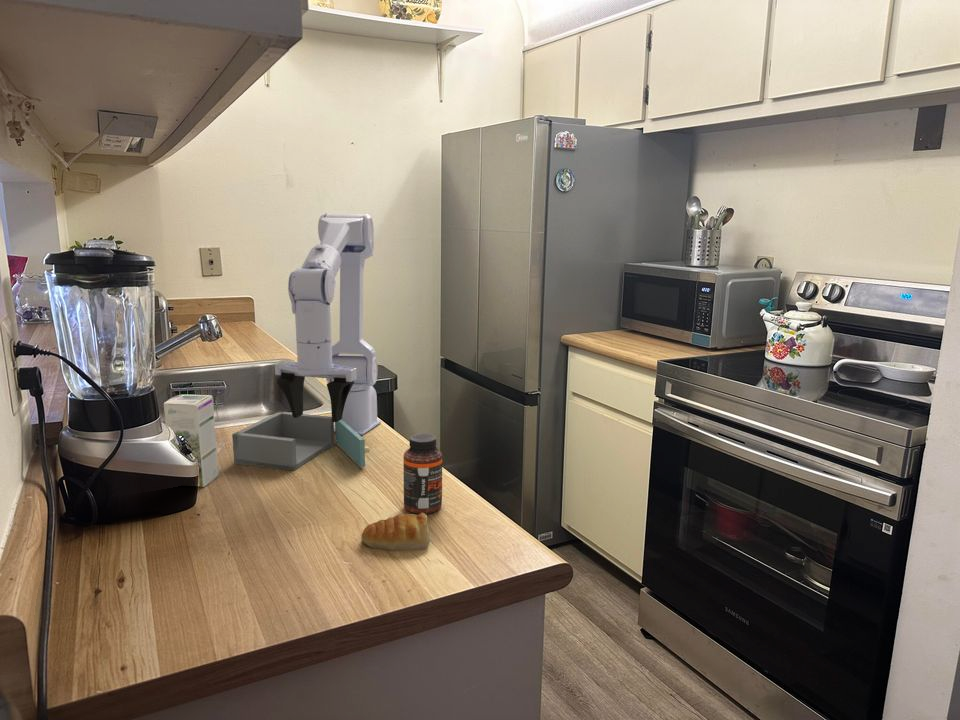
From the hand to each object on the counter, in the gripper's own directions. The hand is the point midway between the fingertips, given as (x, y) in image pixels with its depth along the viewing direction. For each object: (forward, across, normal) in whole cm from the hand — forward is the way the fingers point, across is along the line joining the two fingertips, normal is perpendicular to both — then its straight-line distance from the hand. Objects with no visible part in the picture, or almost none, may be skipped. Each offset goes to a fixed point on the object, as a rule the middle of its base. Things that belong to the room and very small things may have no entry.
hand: (317, 418), depth 116 cm
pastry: (+10, +24, -19) cm, 32 cm away
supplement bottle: (+10, +23, -8) cm, 26 cm away
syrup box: (+10, -17, -10) cm, 23 cm away
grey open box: (+10, -11, +6) cm, 16 cm away
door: (+9, +2, +9) cm, 13 cm away
